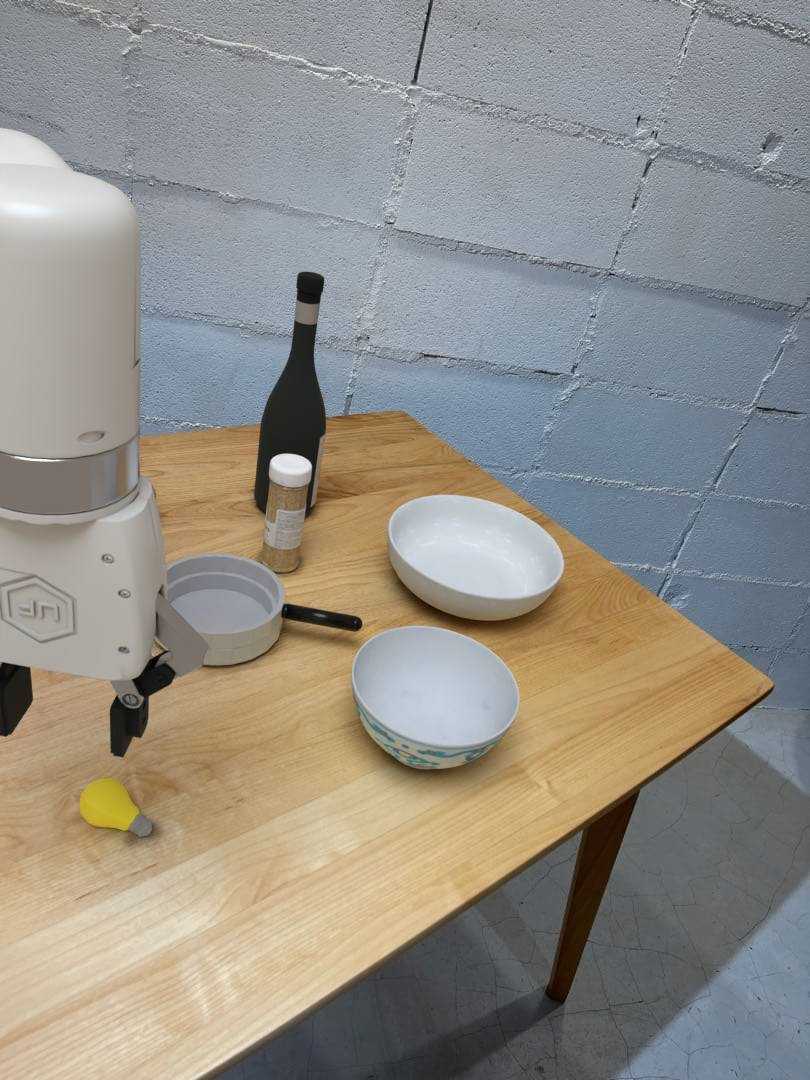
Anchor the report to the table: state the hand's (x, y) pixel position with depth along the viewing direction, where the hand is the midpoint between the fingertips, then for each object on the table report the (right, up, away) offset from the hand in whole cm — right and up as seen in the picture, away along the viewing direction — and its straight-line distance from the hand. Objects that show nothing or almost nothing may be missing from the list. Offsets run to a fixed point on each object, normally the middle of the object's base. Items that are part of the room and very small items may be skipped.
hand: (71, 726), depth 48 cm
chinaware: (+21, -8, +28) cm, 36 cm away
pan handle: (+11, +2, +35) cm, 37 cm away
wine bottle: (+4, +15, +59) cm, 61 cm away
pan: (0, +2, +36) cm, 37 cm away
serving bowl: (+27, +5, +50) cm, 57 cm away
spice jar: (+5, +8, +48) cm, 49 cm away
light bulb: (-3, -11, +15) cm, 19 cm away
